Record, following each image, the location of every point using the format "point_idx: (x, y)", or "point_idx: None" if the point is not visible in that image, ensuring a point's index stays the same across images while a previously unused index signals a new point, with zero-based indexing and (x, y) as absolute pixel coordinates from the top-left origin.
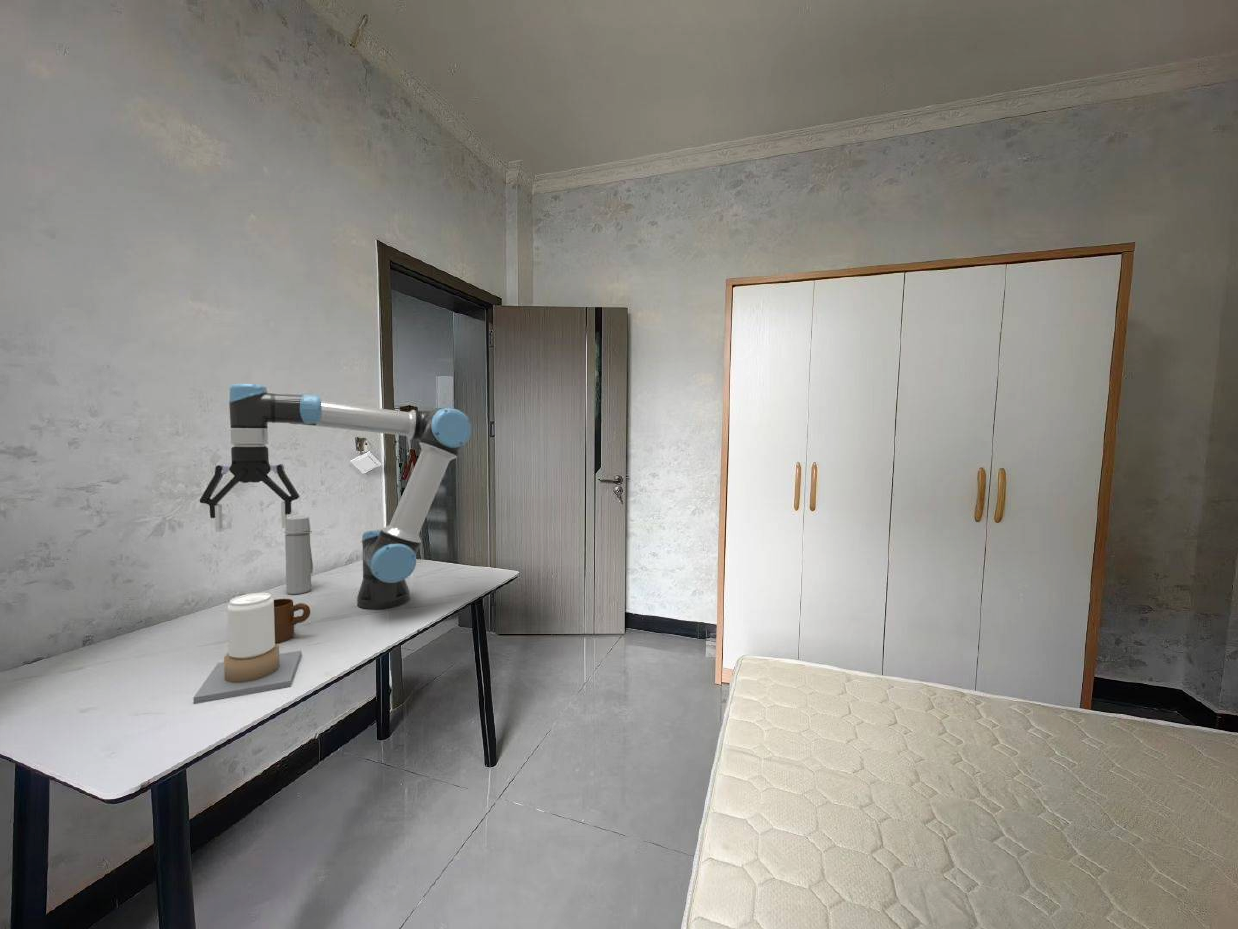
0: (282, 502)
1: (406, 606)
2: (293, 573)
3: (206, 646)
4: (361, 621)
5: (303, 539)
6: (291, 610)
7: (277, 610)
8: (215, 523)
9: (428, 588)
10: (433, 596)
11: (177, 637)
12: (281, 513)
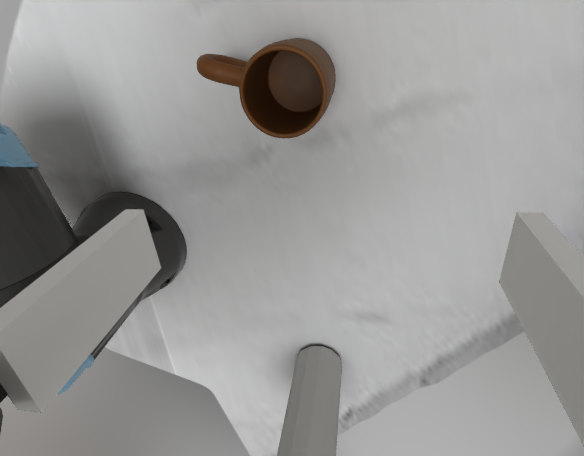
0: (9, 370)
1: (79, 190)
2: (320, 384)
3: (450, 87)
4: (143, 128)
5: None
6: (242, 67)
7: (269, 45)
8: (576, 249)
9: None
10: None
11: (521, 178)
12: (73, 266)
